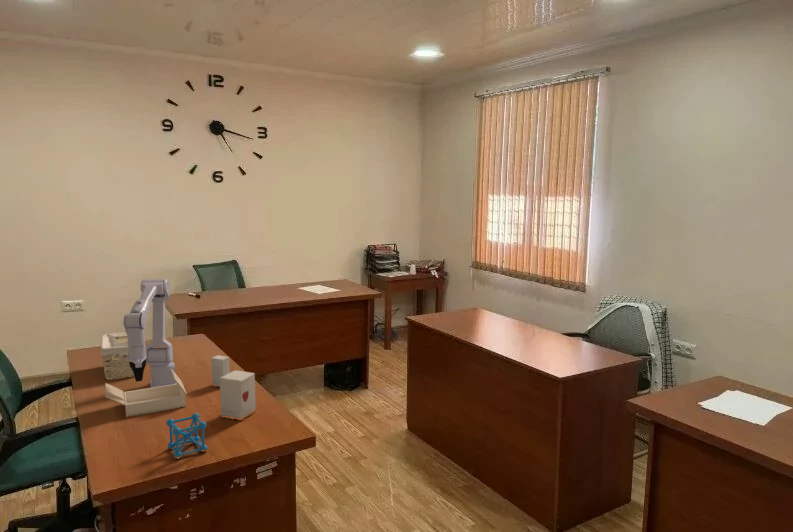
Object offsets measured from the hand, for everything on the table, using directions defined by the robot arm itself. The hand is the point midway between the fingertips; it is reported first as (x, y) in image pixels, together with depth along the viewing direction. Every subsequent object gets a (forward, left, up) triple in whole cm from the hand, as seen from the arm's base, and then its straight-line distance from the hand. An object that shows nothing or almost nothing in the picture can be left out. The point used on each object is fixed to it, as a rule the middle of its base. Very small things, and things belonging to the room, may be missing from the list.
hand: (139, 380), depth 206 cm
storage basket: (+4, -47, -11) cm, 49 cm away
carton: (-5, 0, -10) cm, 11 cm away
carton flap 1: (+8, 0, -3) cm, 9 cm away
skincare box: (-31, -10, -11) cm, 34 cm away
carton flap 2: (-13, 0, -2) cm, 14 cm away
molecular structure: (-11, +43, -11) cm, 46 cm away
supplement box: (-31, +23, -11) cm, 40 cm away
